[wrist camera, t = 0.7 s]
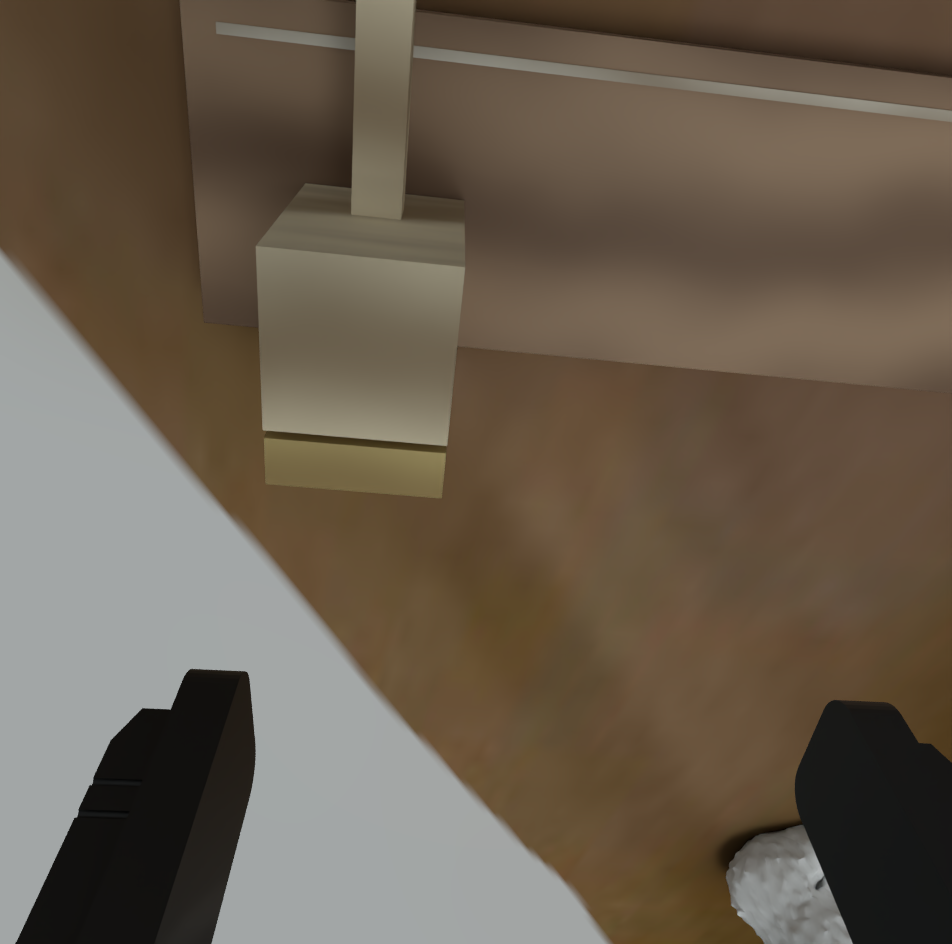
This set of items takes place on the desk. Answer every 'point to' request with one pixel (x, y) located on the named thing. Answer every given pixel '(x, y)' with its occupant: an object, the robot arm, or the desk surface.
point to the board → (607, 187)
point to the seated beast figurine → (784, 890)
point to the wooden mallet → (363, 300)
